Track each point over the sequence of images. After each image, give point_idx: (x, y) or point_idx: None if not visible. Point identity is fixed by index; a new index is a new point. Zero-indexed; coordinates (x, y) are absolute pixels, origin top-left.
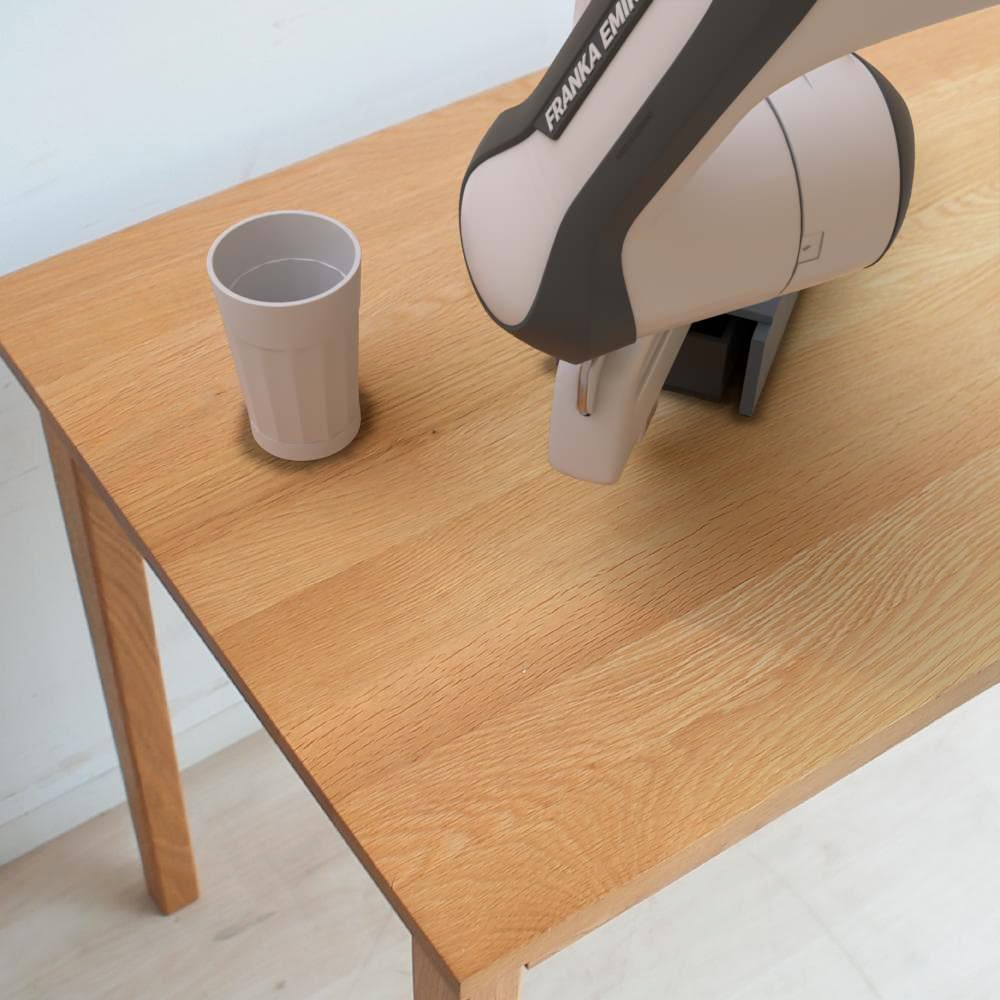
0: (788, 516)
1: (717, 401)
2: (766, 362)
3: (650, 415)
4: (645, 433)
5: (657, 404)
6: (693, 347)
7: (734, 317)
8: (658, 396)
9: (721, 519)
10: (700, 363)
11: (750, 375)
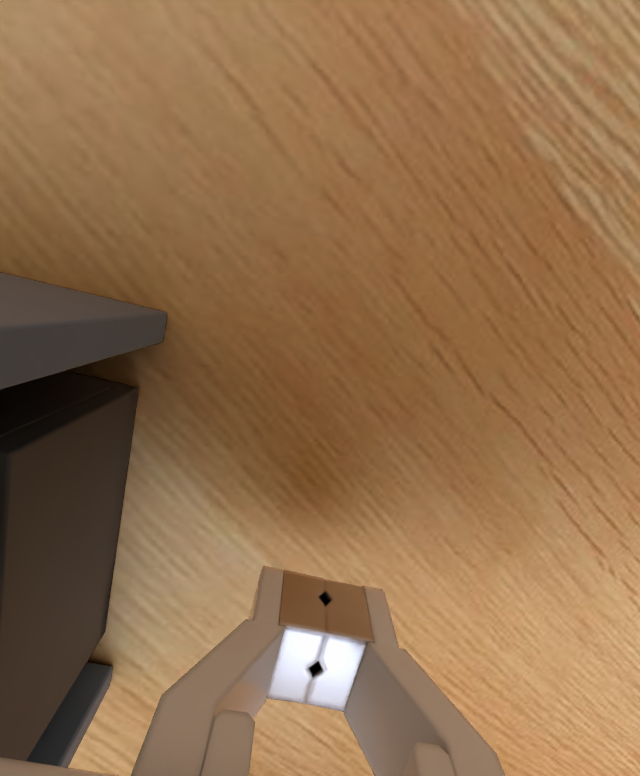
0: (466, 226)
1: (138, 390)
2: (5, 288)
3: (332, 606)
4: (360, 587)
5: (268, 578)
6: (35, 534)
7: None
8: (266, 601)
9: (479, 370)
10: (74, 481)
11: (101, 345)
